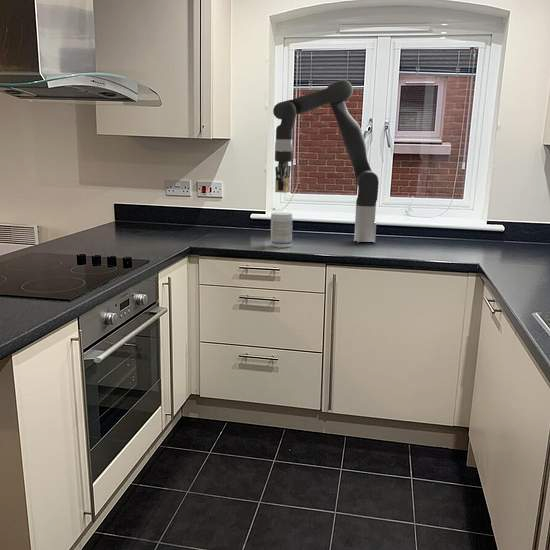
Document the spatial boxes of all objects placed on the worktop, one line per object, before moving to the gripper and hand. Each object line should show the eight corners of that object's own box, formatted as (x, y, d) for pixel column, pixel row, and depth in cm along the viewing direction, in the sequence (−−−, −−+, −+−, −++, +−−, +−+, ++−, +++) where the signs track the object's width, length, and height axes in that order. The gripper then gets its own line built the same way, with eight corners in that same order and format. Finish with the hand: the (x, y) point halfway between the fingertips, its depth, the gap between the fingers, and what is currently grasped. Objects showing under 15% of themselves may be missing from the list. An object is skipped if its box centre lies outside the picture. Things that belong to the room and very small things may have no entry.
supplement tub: (295, 247, 259) (296, 214, 256) (276, 248, 255) (277, 215, 252) (285, 243, 267) (286, 211, 264) (266, 245, 263) (267, 212, 260)
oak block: (279, 191, 259) (279, 177, 258) (289, 191, 257) (290, 178, 256) (275, 192, 254) (275, 178, 253) (286, 192, 253) (286, 178, 251)
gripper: (281, 149, 260) (280, 188, 263) (269, 150, 246) (268, 190, 250) (297, 150, 257) (295, 189, 261) (286, 150, 244) (285, 191, 248)
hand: (282, 189), depth 256 cm, fingers closed on oak block, 5 cm apart
